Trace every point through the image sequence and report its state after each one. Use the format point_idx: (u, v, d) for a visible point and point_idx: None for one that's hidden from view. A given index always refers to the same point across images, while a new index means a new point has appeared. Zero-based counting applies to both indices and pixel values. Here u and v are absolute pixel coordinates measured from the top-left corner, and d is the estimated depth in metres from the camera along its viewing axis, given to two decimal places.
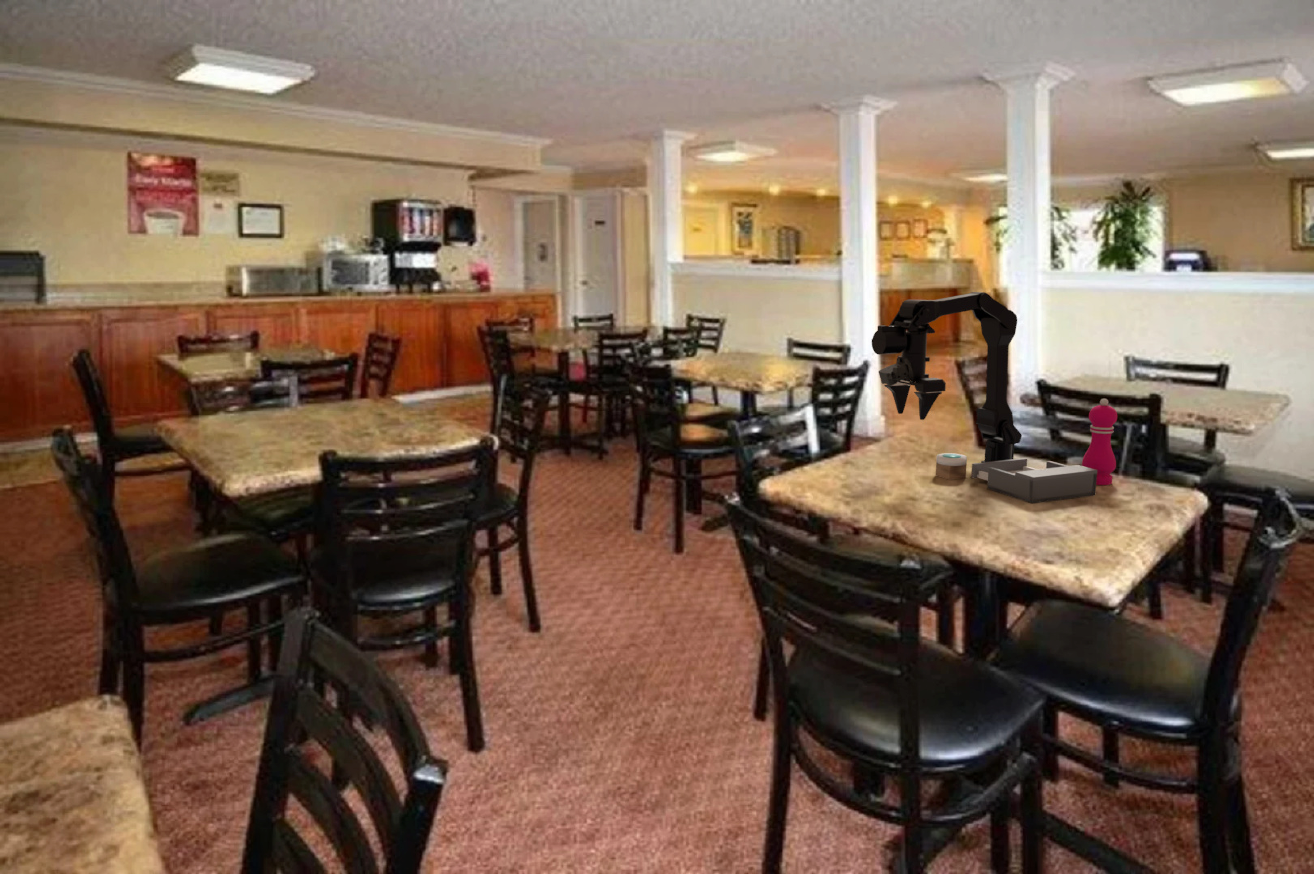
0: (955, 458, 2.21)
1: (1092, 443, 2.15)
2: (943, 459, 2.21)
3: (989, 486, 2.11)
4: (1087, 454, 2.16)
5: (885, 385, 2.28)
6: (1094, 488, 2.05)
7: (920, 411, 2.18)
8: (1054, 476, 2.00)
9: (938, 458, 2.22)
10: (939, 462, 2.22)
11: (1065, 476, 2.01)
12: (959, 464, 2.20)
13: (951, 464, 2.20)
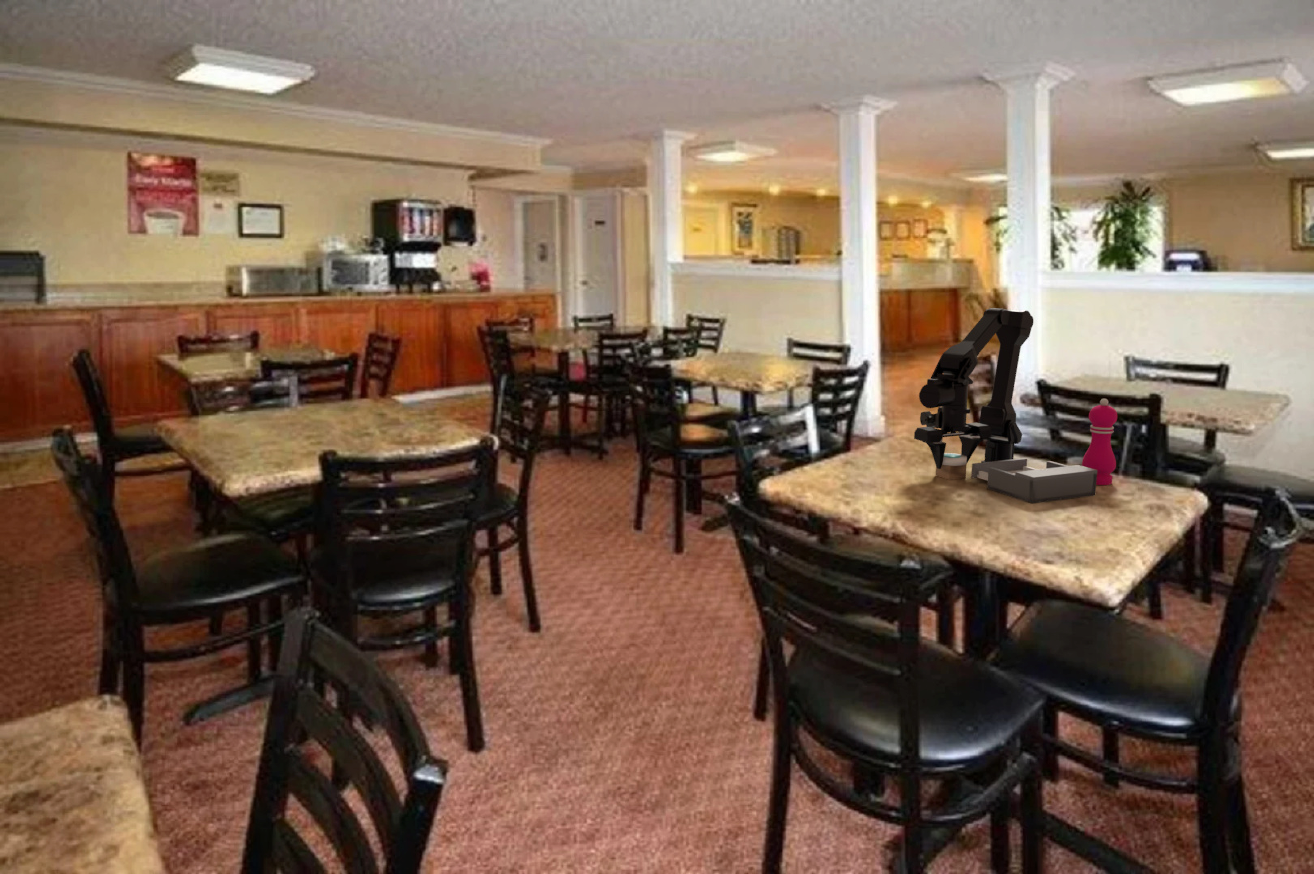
0: (955, 458, 2.21)
1: (1092, 443, 2.15)
2: (943, 459, 2.21)
3: (989, 486, 2.11)
4: (1087, 454, 2.16)
5: None
6: (1094, 488, 2.05)
7: None
8: (1054, 476, 2.00)
9: None
10: None
11: (1065, 476, 2.01)
12: (959, 464, 2.20)
13: (951, 464, 2.20)
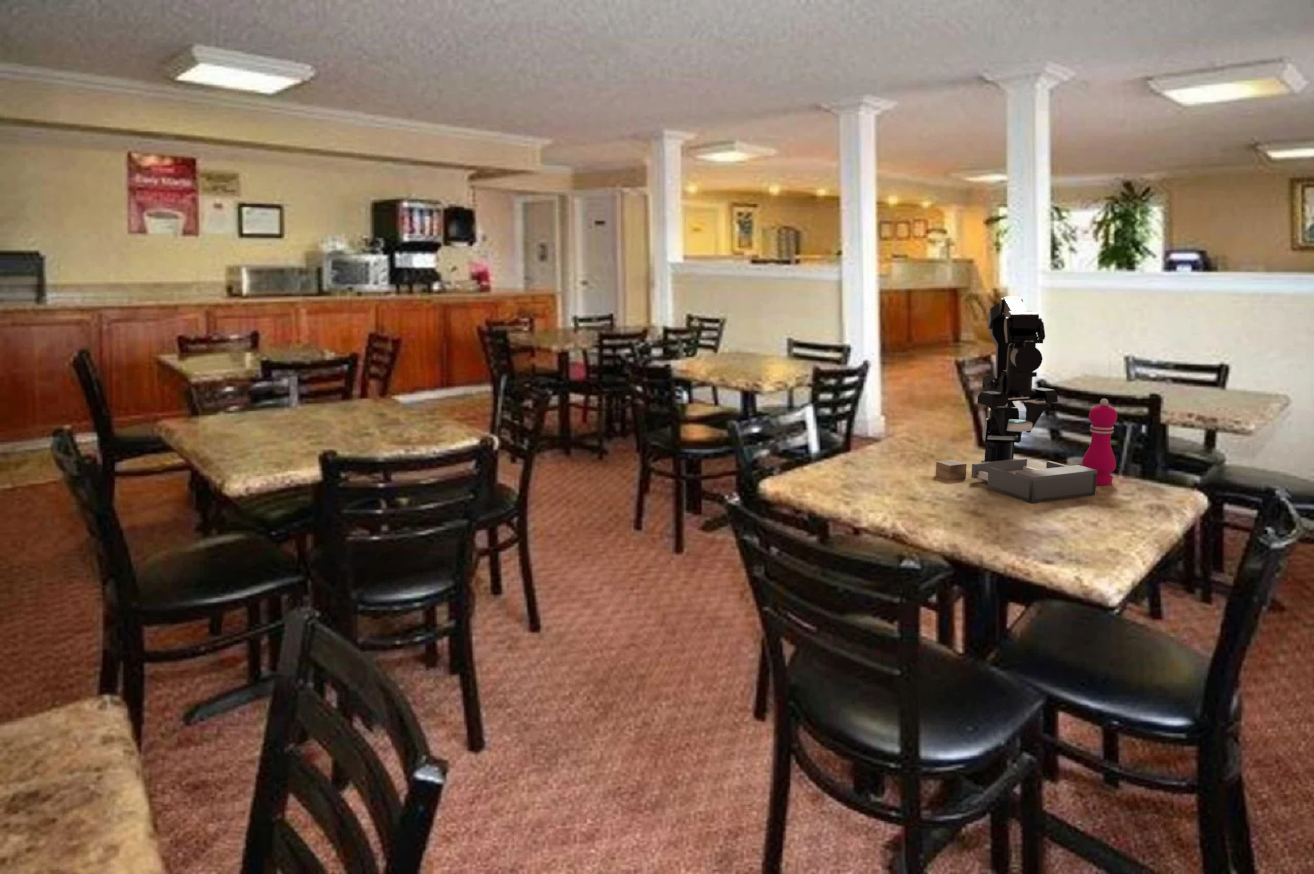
0: (1020, 423, 2.11)
1: (1092, 443, 2.15)
2: (1008, 425, 2.12)
3: (989, 486, 2.11)
4: (1087, 454, 2.16)
5: None
6: (1094, 488, 2.05)
7: None
8: (1054, 476, 2.00)
9: None
10: None
11: (1065, 476, 2.01)
12: (1025, 430, 2.11)
13: (1016, 430, 2.11)
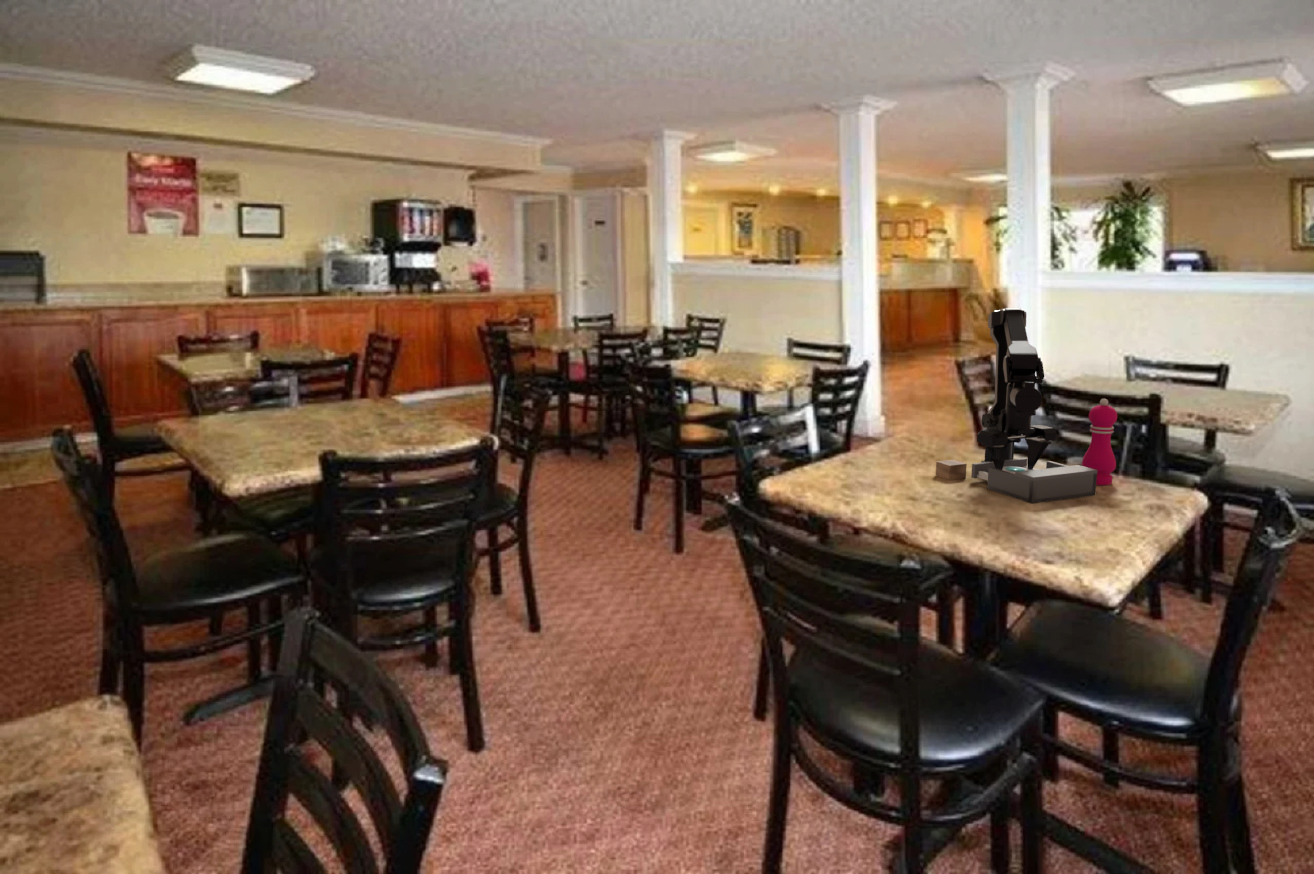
0: None
1: (1092, 443, 2.15)
2: None
3: (989, 486, 2.11)
4: (1087, 454, 2.16)
5: None
6: (1094, 488, 2.05)
7: None
8: (1054, 476, 2.00)
9: None
10: None
11: (1065, 476, 2.01)
12: None
13: None
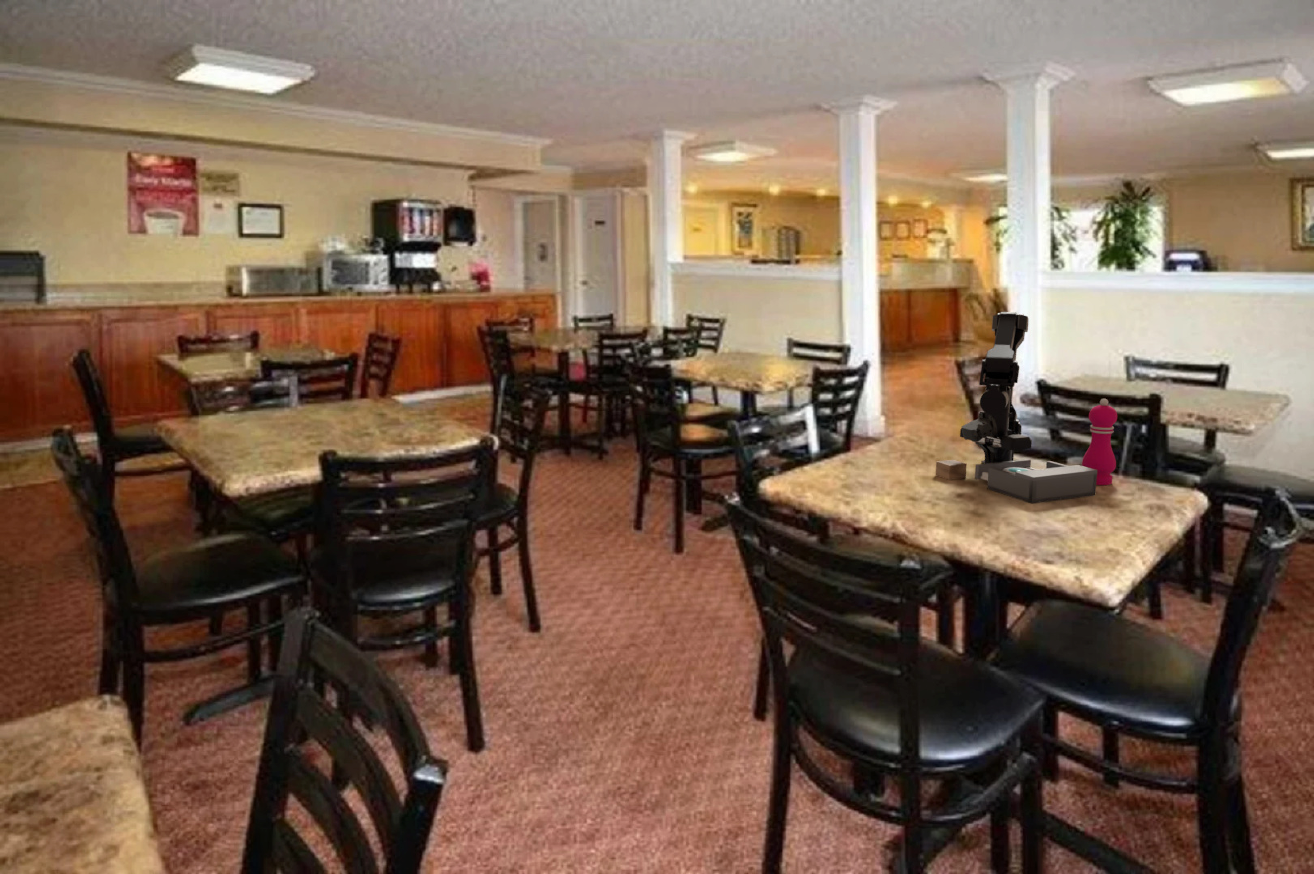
0: None
1: (1092, 443, 2.15)
2: None
3: (989, 486, 2.11)
4: (1087, 454, 2.16)
5: (976, 442, 2.22)
6: (1094, 488, 2.05)
7: None
8: (1054, 476, 2.00)
9: None
10: None
11: (1065, 476, 2.01)
12: None
13: None
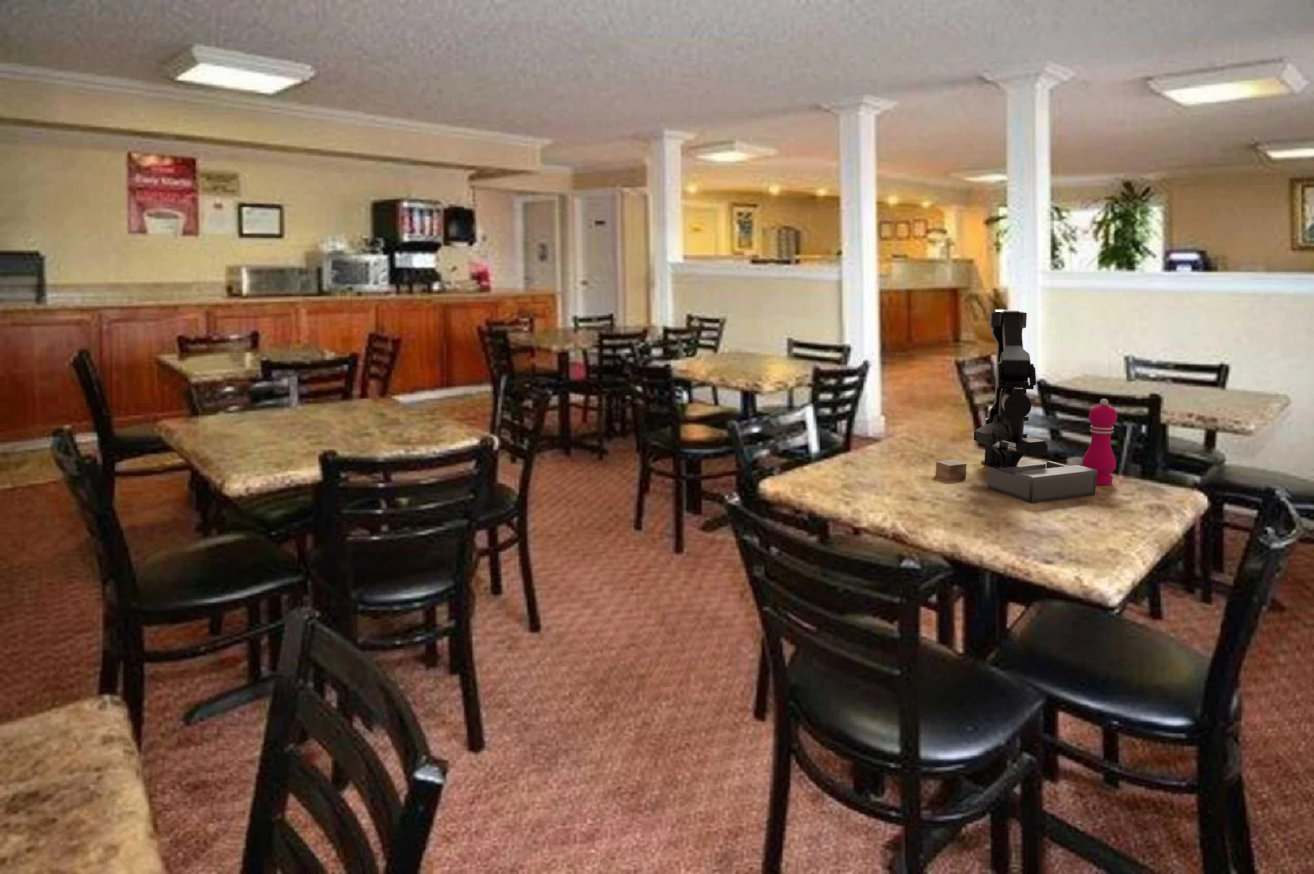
0: None
1: (1092, 443, 2.15)
2: None
3: (989, 486, 2.11)
4: (1087, 454, 2.16)
5: (991, 446, 2.17)
6: (1094, 488, 2.05)
7: None
8: (1054, 476, 2.00)
9: None
10: None
11: (1065, 476, 2.01)
12: None
13: None
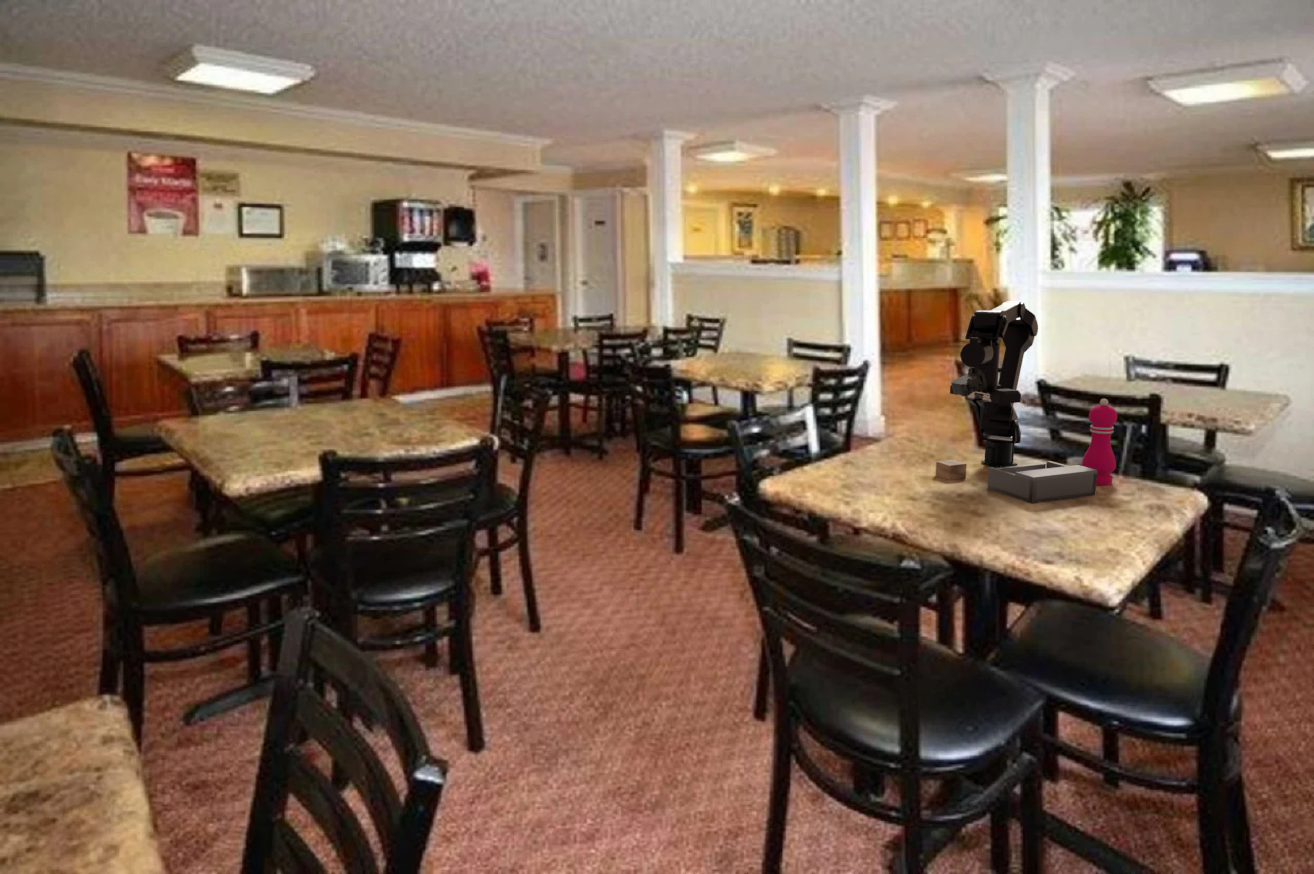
0: None
1: (1092, 443, 2.15)
2: None
3: (989, 486, 2.11)
4: (1087, 454, 2.16)
5: (966, 398, 2.22)
6: (1094, 488, 2.05)
7: (982, 419, 2.21)
8: (1054, 476, 2.00)
9: None
10: None
11: (1065, 476, 2.01)
12: None
13: None
